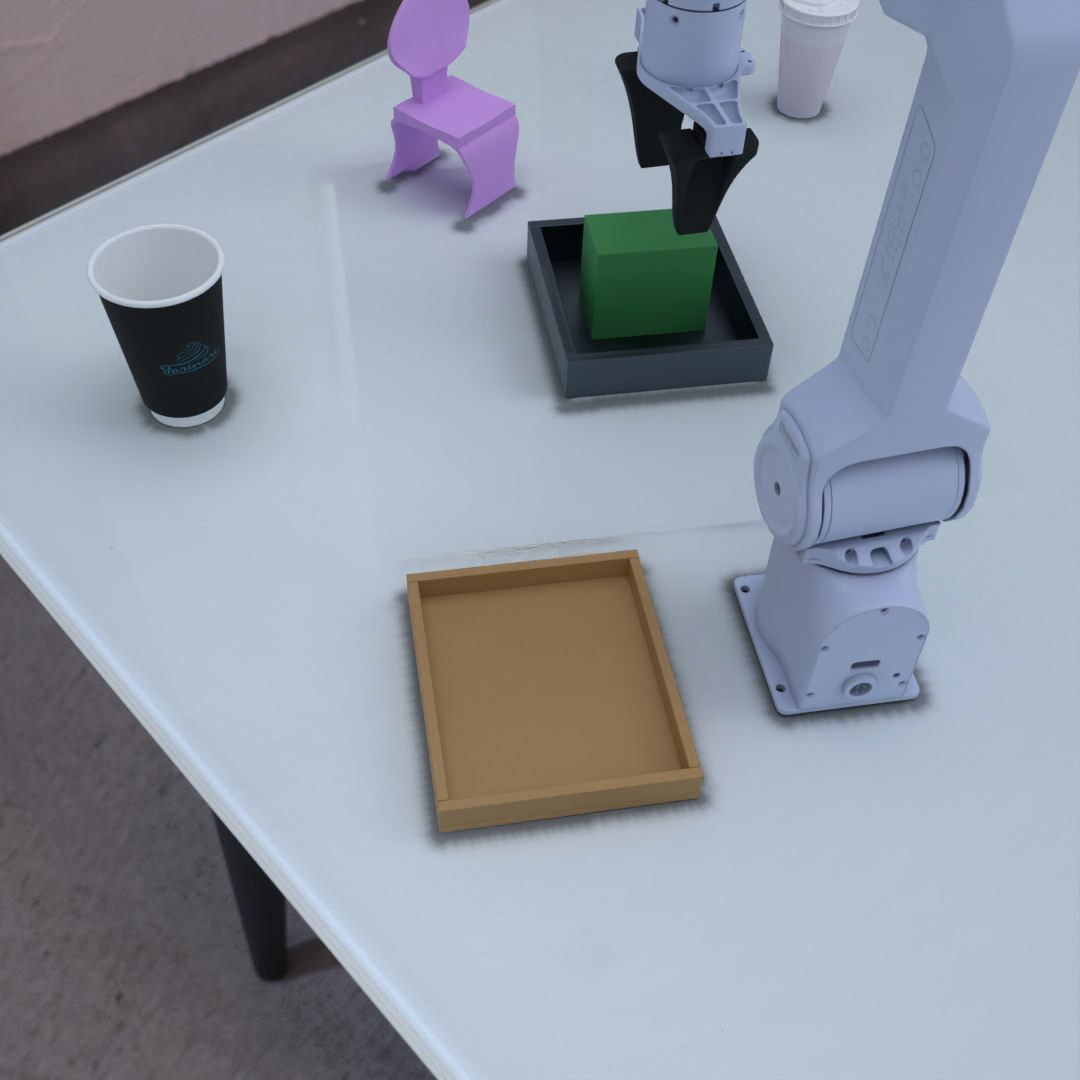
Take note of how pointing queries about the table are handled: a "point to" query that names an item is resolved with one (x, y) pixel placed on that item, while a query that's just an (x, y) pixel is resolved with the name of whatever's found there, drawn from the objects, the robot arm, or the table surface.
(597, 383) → the dark grey tray
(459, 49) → the toy chair
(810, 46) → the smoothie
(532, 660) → the tray
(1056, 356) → the table surface
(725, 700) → the table surface
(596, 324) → the green rectangular block
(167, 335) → the dixie cup
